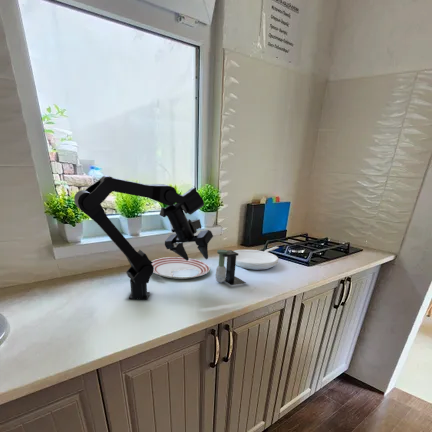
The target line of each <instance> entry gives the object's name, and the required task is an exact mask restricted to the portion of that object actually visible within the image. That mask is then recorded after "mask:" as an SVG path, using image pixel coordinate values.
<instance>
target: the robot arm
mask: <svg viewBox="0 0 432 432" xmlns="http://www.w3.org/2000/svg"><path fill="white" fill-rule="evenodd" d="M113 192H114V193H119V194H124V195H130V196H135V197H140V198H141V197H142V198H147V199H150V200H152V201H155V202H157V203H160V204H162V205H165V206H166V207H163V206H161V208H160V211H159V217H163V218H166V217H167V219H168V221H169V223H170V225H171V227H172V228H171V232H172V233H173V234H170V235H169V236H168V237H167V238H166V239H165V240H164V247H165V248H166V250H169V251H171V252H173V253H175V254H177V255H178V256H179V257H182V258H184V259H185V260H187V261H188V260H189V258H190V257H189V256H188V253H187V251H186V249H185V247H184V244H185V243H193V242H194V243H195V245H196V247H197V249H198V251H199V252H200V254H201V255H202V257H203V258H204V259H205V260H208V259H209V249H208V248H209V247H208V245H209V243H210V241H211V240H212V238H213V237H214V235H213V232H212V231H211V230H210V229H205V230H201V229H202V224H201V223H202V222H201V219H200V218H199V219H189V218H187V216H186V214H188V215H189V216H191V215H193V214H194V213H196V212H197V211H199V210H200V209H201V208H203V207H204V206H205V201H204V198H203V197H202V196H201V194H200V193H199V192H198V191H197V189H196V188H195V187H191V188H189V189H188V191H186V192H184V193H183V194H179V193H178V192H177V190H176V188H175V187H174V186H172V185H168V184H164V183H152V184H150V183H149V184H147V183H141V182H136V181H130V180H126V179H120V178H116V177H112V176H111V175H102V177H100V179H98V180H97V181H96V182H94V183H92V184H91V185H89V186H88V187H87V188H86V189H85V190H84V189H83V190H82V189H81V190H79V191H77V192H76V193H75V195H74V199H73V200H74V201H73V202H74V204H75V206H76V207H77V209H79V210H80V211H81V212H82V213H84V214H85V215H86V216H87V217H88V218H90V219H91V220H92V221H93V222H95V224H97V225H98V227H100V229H101V230H102V231H103V232H104V233H105V234H106V235H107V236H108V238H109V239H110V240H111V241H112V242H113V243H114V245H115V246H116V247H117V248H118V249H119V250H120V251H121V252H122V254H123V255H124V256H125V257H126V259H127V261H128V263H129V264H130V267H129V268H128V269H127V271H126V272H125V273H126V275H127V277H128V278H129V279H130V280H129V283H130V284H129V285H130V295H129V296H128V300H142V301H143V300H144V301H146V300H148V299H149V296H150V294H151V293H150V291H148V284H149V282H150V279H151V276H152V275H153V274H154V273H153V270H154V267H153V265H152V264H151V263H153V262H152V261H153V260H151V259H149V257H148V255H147V254H146V253H145V252H144V251H143V250H141V249H138V251H137V249H135V248H134V247H133V246H132V244H131V243H130V242H129V241H128V239H127V238H126V237H125V236H124V235H123V234H122V232H121V231H120V230H119V229H118V228H117V226H116V225H115V224H114V223H113V222H112V221H111V219H110V218H109V217H108V215H107V213H106V211H105V209H104V208H103V205H102V203H103V202H105V200H106V199H107V198H108V197H109V196H110V195H111V193H113ZM197 230H200V231H199V233H198V231H197ZM197 233H198V234H197ZM195 234H197V235H195Z"/></svg>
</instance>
